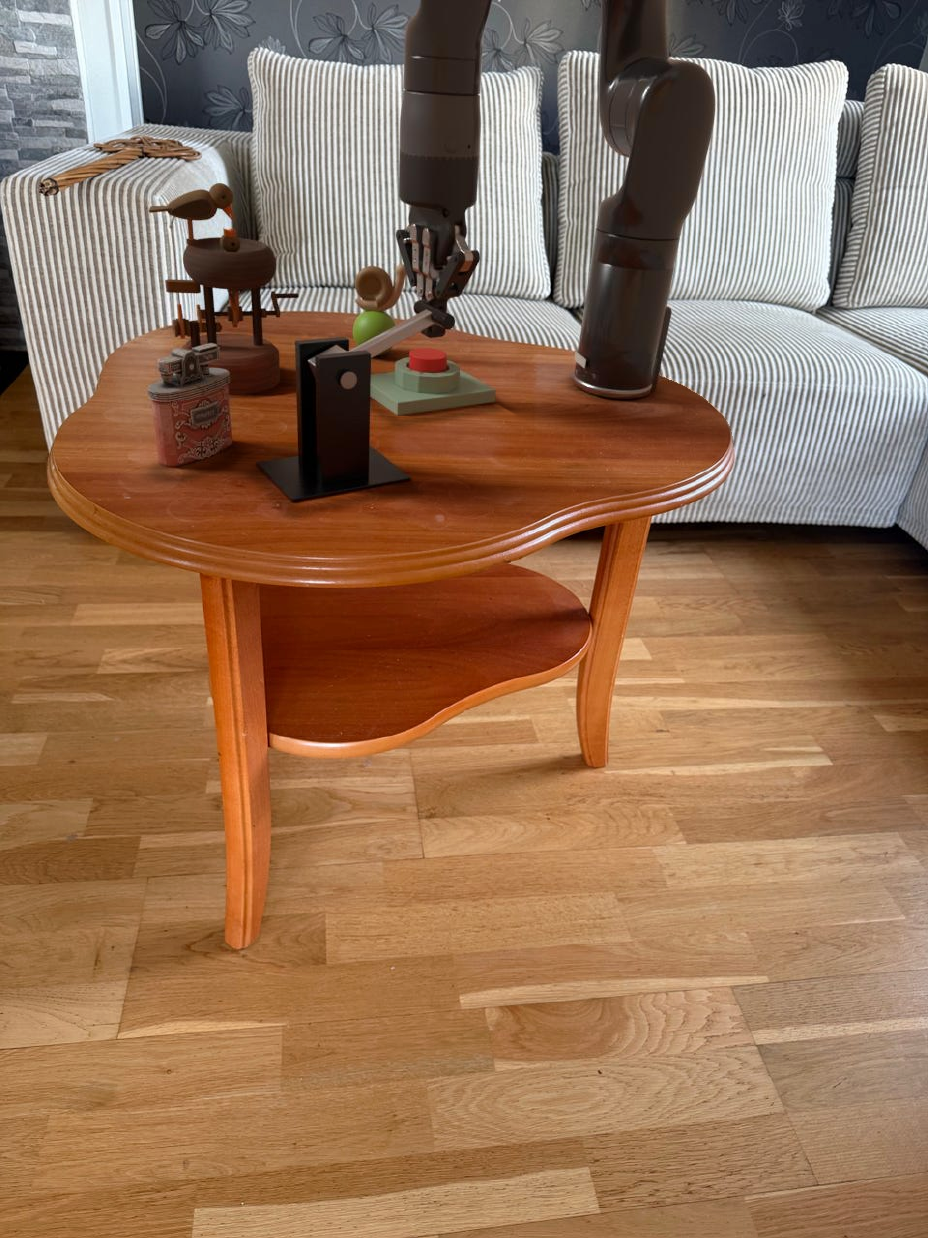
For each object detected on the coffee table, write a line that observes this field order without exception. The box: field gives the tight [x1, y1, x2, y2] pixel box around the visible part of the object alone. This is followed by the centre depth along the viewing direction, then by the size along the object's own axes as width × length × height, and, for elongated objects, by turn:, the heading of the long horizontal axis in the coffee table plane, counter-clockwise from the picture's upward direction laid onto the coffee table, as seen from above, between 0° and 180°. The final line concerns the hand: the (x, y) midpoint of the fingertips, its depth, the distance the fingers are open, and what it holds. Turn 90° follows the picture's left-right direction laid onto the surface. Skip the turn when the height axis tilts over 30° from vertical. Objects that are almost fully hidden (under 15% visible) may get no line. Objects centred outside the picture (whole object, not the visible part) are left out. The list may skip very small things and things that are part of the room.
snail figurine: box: [352, 263, 407, 357], centre depth 105 cm, size 5×6×12 cm
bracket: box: [255, 336, 412, 504], centre depth 73 cm, size 11×8×12 cm
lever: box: [308, 299, 456, 380], centre depth 72 cm, size 12×5×2 cm, turn 122°
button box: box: [370, 356, 497, 416], centre depth 94 cm, size 12×9×4 cm
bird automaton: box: [148, 182, 300, 395], centre depth 92 cm, size 15×11×20 cm
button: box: [408, 347, 448, 373], centre depth 92 cm, size 4×4×2 cm
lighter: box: [146, 343, 234, 469], centre depth 75 cm, size 8×3×10 cm, turn 148°
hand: (432, 335), depth 91 cm, fingers closed
